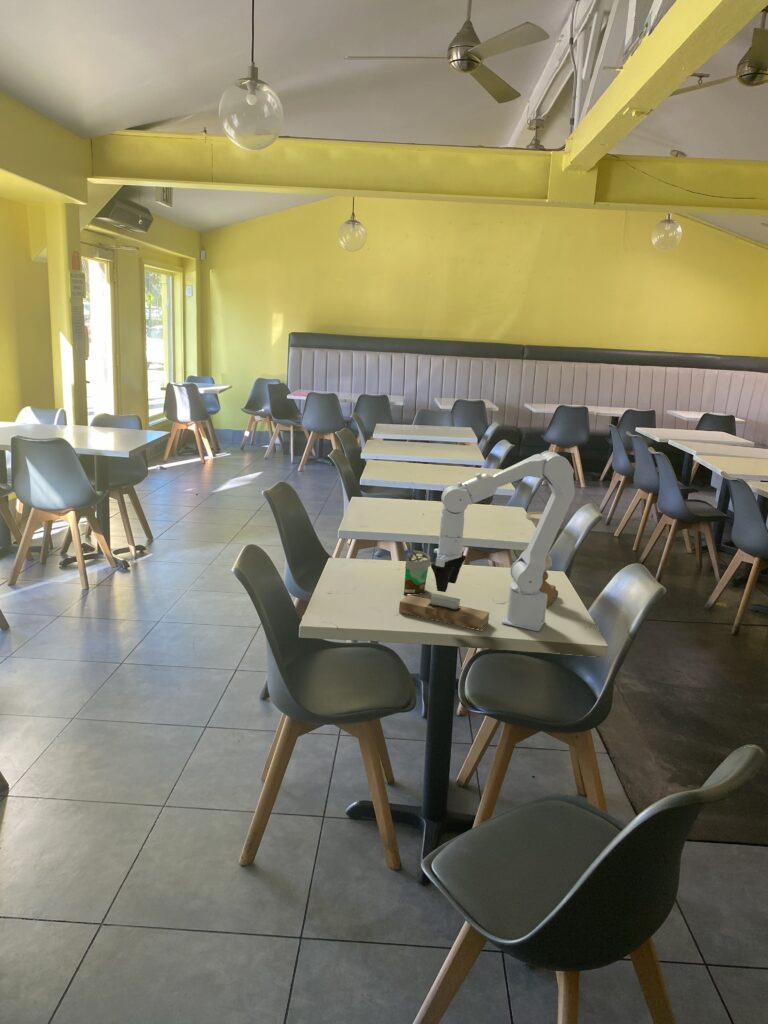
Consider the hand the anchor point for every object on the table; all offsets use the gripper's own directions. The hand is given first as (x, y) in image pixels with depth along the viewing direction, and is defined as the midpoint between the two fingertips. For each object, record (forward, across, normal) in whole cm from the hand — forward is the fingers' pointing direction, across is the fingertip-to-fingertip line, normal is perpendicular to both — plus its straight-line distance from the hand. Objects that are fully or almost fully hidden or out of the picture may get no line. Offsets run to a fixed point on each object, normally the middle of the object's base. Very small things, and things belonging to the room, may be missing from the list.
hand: (446, 586), depth 183 cm
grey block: (+8, 0, 0) cm, 8 cm away
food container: (+9, -15, -13) cm, 22 cm away
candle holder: (+9, -29, +17) cm, 35 cm away
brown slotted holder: (+8, 0, 0) cm, 8 cm away
